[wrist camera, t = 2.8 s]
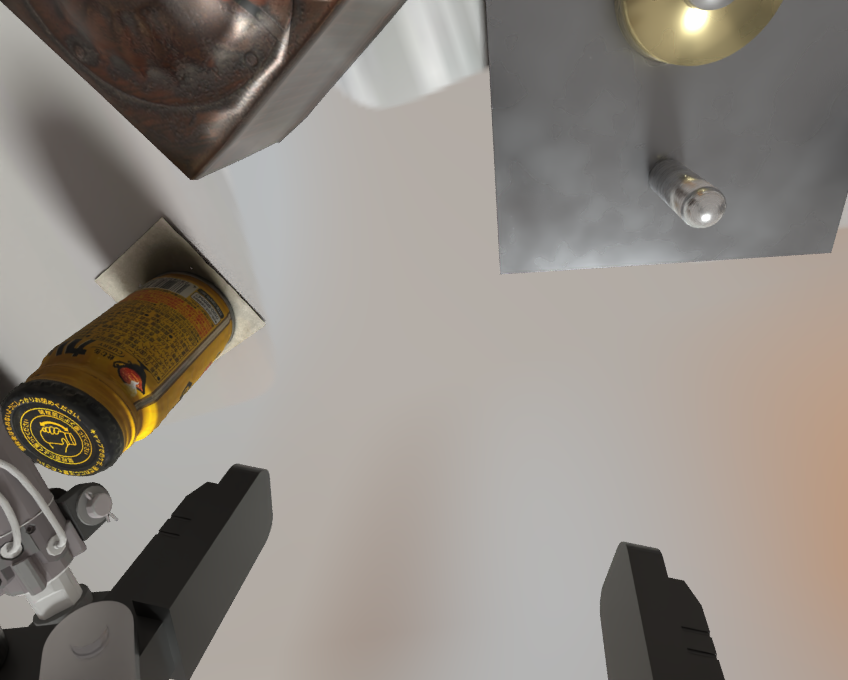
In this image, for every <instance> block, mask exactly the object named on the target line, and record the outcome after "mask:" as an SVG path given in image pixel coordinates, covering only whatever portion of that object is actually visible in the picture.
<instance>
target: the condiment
mask: <svg viewBox="0 0 848 680" xmlns="http://www.w3.org/2000/svg"><path fill="white" fill-rule="evenodd" d="M190 267H192V270H191V269H190ZM95 282H96V283H97V284H98V285H99V286H100V287H101V288H102V289H103V290H104V291H105V292H106V293H107V294H108V295H109V296H111V297H112V298H113V299H114V300H115V301H116V302H117V304H114V306H113V307H111V308H110V309H108V310H107V311H106V312H104V313H103V314H102V315H101V316H99V317H98V318H96V319H95V320H93V321H92V322H91V323H89V324H88V325H86V326H85V327H83V328H82V329H81V330H79V331H78V332H76V333H75V334H74V335H72V336H71V337H69V338H68V339H66V340H65V341H64V342H62V343H61V344H59V345H57V346H56V347H54V348H53V350H51V351H50V352H49V353H48V354H47V356H46V357H45V358H44V359H43V361H42V364H41V366H40V367H39V369H37V370H36V371H35V372H34V373H33V374H31V375H30V376H29V377H28V378H27V380H26V382H25V383H21V384H20V385H19V386H17V387H15V388H14V390H12V391H11V392H10V393H9V395H8V396H7V397H6V398H5V400H4V402H3V405H2V407H1V414H2V420H3V424H4V426H5V429H6V431H7V433H8V435H9V436H10V438H11V439H12V441H13V442H14V444H15V445H16V446H17V447H18V448H19V449H20V450H21V451H22V452H23V453H24V454H26V456H28V457H30V458H32V459H33V460H34V461H36V462H37V463H39V464H41V465H43V466H44V467H47V468H49V469H51V470H53V471H57V472H59V473H62V474H66V475H72V476H90V475H94V474H96V473H99V472H101V471H104V470H106V469H107V468H108V467H111V466H113V464H114V463H115V462H116V461H117V459H118V457H120V455H121V454H122V453H123V452H124V451H125V450H127V449H128V448H129V447H130V446H131V445H132V444H133V443H134V442H135V441H139V440H141V439H143V438H145V437H146V436H148V435H149V434H151V433H152V432H153V430H154V429H155V428H157V427H158V426H159V425H160V423H161V421H162V420H163V419H164V418H165V417H166V416H167V414H168V413H169V412H170V410H171V409H173V408H174V406H175V405H176V404H177V403H178V402H179V401H180V400H181V398H182V397H183V395H184V394H185V393H186V392H187V391H188V390H189V389H190V388H191V386H192V385H193V384H194V383H195V382H196V381H197V380H198V379H199V378H200V377H201V375H202V374H203V373H204V371H206V370H207V368H208V367H209V366H210V365H211V364H212V363H213V362H214V361H215V360H217V359H218V358H220V357H221V356H223V355H224V354H225V353H227V352H228V351H229V350H231V349H232V348H234V347H235V346H237V345H238V344H239V343H241V342H242V341H244V340H245V339H247V338H248V337H249V336H251V335H252V334H254V333H255V332H257V331H258V330H260V329H261V328H262V327H264V326H265V325H266V324H265V323H264V322H263V321H262V320H261V319H260V318H259V316H258V315H257V314H256V313H255V312H254V311H253V310H252V309H251V308H250V306H249V305H248V304H247V303H246V302H245V301H244V300H243V299H241V298H240V296H239V295H238V294H237V293H236V291H235V290H234V289H233V288H232V287H231V286H230V285H228V284H227V283H226V281H225V280H224V279H223V278H222V277H221V276H220V275H218V274H217V273H216V271H215V270H214V269H212V268H211V267H210V266H209V265H208V264H207V263H206V262H205V261H204V260H203V258H202V257H201V256H200V255H199V254H198V253H197V252H196V251H195V250H194V249H193V248H192V247H191V246H190V244H189V243H188V242H186V241H185V240H184V239H183V238H182V237H181V236H180V235H179V234H178V233H176V232H175V231H174V229H173V228H172V227H171V226H170V225H169V224H168V223H167V222H166V221H165V220H164V219H163V218H162V217H161V218H160V219H159V220H158V221H157V222H156V223H155V224H154V225H153V226H152V227H151V228H150V229H149V230H148V231H147V232H146V233H145V234H144V235H143V236H142V237H141V238H140V239H139V240H138V241H137V242H136V243H135V244H134V245H132V246H131V247H130V248H129V249H128V250H127V251H126V252H125V253H124V255H122V256H121V257H120V258H118V259H117V260H116V261H115V262H114V263H113V264H112V265H111V266H110V267H109V268H108V269H107V270H106V271H105V272H103V273H102V274H101V275H100V276H99V277H98V278H97V279H96V280H95ZM139 284H141V287H139Z"/></svg>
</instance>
